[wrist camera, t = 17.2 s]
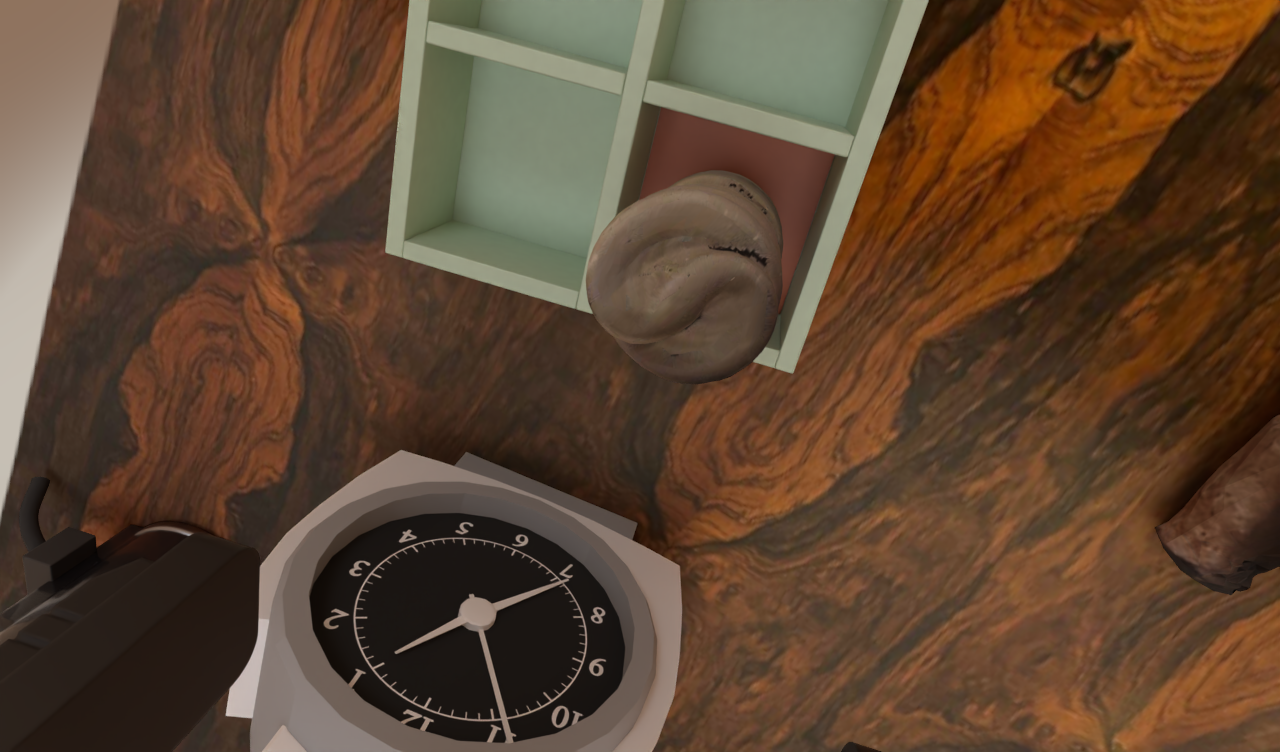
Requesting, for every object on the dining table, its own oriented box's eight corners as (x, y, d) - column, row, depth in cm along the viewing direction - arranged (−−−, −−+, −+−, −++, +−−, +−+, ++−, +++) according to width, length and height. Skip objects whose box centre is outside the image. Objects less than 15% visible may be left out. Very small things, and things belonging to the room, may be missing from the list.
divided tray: (442, 227, 36) (384, 253, 31) (498, -209, 29) (434, -272, 24) (791, 329, 35) (793, 374, 30) (943, -100, 28) (980, -141, 22)
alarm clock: (710, 527, 40) (646, 907, 22) (657, 635, 44) (563, 1041, 25) (411, 403, 41) (102, 673, 22) (382, 520, 44) (95, 836, 26)
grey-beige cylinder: (635, 215, 33) (532, 310, 20) (717, 119, 31) (664, 151, 18) (726, 297, 34) (687, 443, 20) (812, 208, 32) (832, 306, 18)
